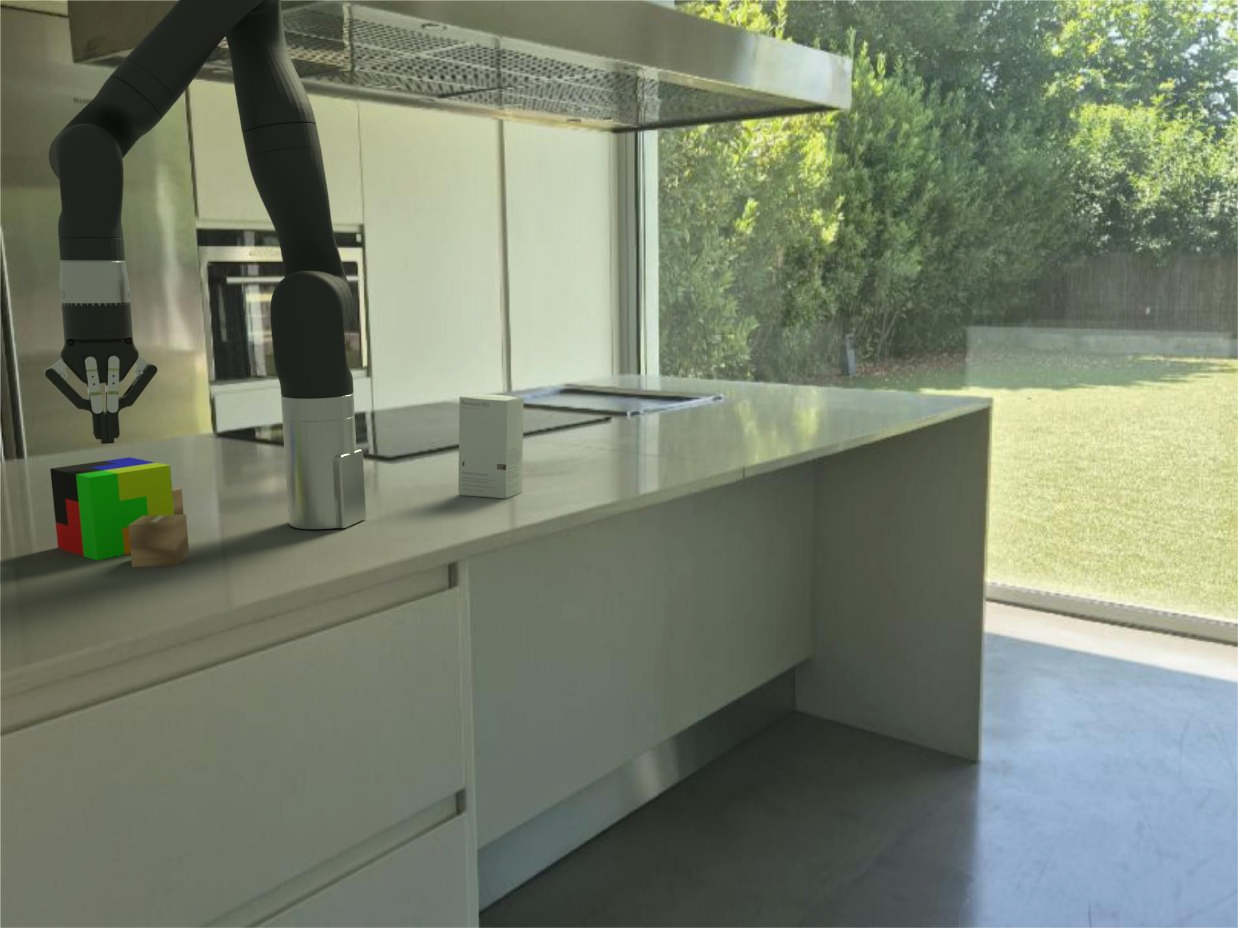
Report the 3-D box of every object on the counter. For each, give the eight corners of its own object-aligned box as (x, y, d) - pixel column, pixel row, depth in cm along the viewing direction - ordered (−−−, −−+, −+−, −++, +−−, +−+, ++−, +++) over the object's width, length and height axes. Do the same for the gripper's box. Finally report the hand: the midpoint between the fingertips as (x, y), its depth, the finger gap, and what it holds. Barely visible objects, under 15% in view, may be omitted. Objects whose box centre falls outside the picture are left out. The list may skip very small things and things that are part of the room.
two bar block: (184, 525, 150) (181, 487, 149) (152, 533, 146) (149, 494, 145) (159, 521, 153) (156, 484, 152) (127, 529, 149) (124, 491, 148)
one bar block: (189, 555, 135) (185, 513, 134) (176, 566, 130) (173, 522, 129) (146, 556, 134) (142, 514, 133) (132, 567, 129) (128, 524, 129)
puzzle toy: (136, 533, 146) (129, 457, 145) (176, 544, 140) (170, 465, 138) (58, 548, 139) (50, 468, 137) (97, 561, 132) (89, 477, 131)
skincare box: (458, 496, 167) (454, 396, 165) (477, 488, 173) (474, 392, 170) (508, 499, 165) (506, 398, 162) (526, 491, 170) (524, 394, 167)
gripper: (151, 298, 141) (160, 435, 144) (32, 299, 134) (44, 442, 137) (159, 299, 134) (169, 443, 137) (35, 301, 128) (48, 451, 131)
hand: (106, 442), depth 137 cm, fingers closed
